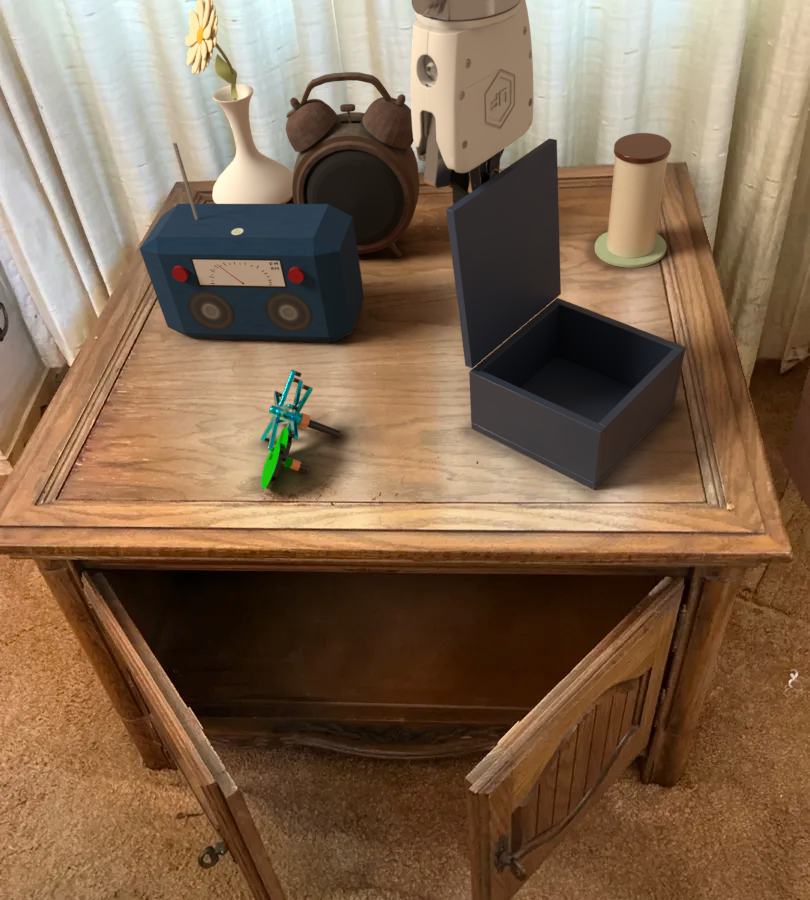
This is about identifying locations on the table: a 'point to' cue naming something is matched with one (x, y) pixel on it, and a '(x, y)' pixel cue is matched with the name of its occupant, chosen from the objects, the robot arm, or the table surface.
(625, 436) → the chest
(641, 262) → the mat
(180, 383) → the table surface
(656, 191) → the jar
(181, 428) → the table surface
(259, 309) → the radio
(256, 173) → the flower in vase
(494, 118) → the robot arm
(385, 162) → the alarm clock
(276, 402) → the stick construction toy
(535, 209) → the lid
